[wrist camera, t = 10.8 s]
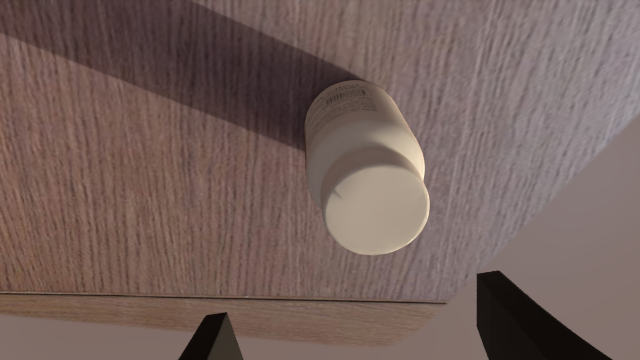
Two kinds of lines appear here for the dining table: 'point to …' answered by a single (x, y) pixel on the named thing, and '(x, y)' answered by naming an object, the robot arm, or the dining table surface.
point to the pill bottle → (364, 169)
